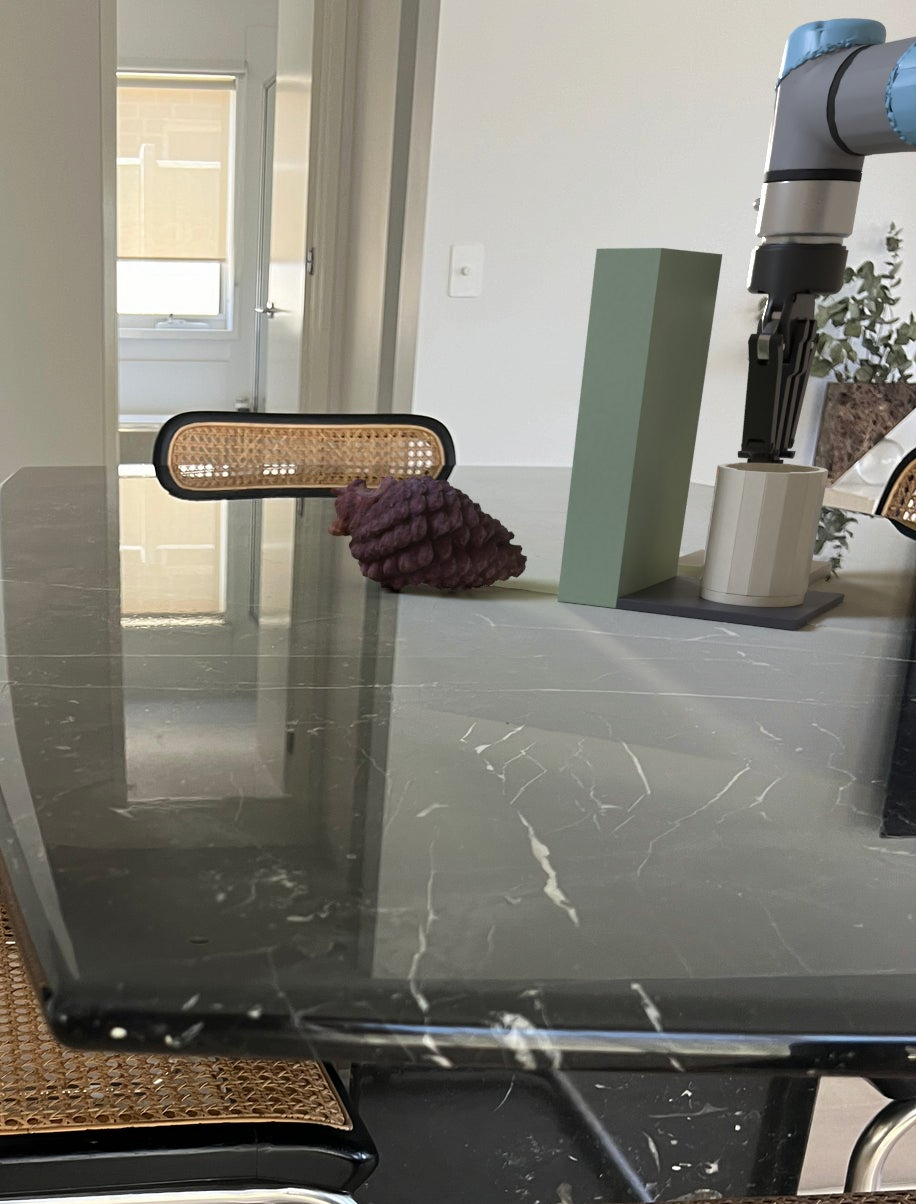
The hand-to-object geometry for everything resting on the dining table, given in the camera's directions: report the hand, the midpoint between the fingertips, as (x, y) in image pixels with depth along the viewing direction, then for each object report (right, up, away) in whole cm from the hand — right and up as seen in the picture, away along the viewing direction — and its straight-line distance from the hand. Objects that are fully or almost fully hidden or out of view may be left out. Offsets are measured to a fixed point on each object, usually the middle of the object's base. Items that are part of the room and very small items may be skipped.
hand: (753, 535), depth 131 cm
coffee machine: (-9, -9, -11) cm, 16 cm away
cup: (-5, -9, -13) cm, 17 cm away
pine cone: (-31, -7, -7) cm, 32 cm away
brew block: (0, -3, +1) cm, 4 cm away
